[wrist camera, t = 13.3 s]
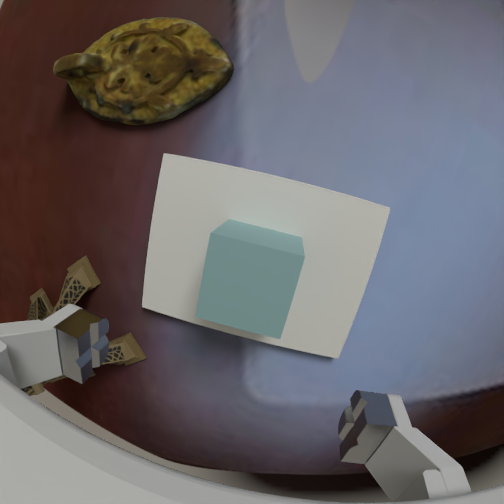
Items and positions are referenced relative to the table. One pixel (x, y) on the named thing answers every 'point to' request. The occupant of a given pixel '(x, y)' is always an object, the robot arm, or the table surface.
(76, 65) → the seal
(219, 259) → the cube
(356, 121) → the table surface
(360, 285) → the board
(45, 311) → the eiffel tower
